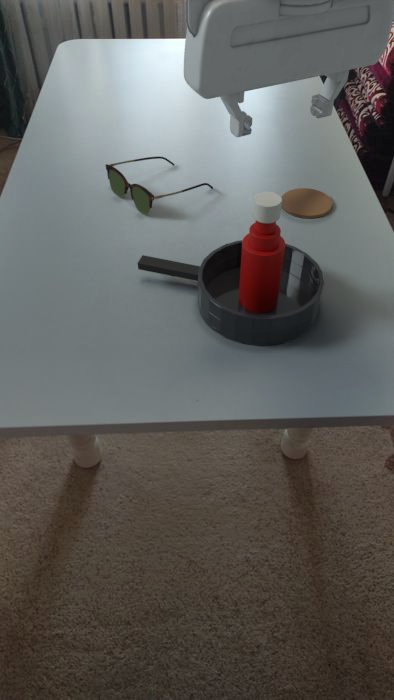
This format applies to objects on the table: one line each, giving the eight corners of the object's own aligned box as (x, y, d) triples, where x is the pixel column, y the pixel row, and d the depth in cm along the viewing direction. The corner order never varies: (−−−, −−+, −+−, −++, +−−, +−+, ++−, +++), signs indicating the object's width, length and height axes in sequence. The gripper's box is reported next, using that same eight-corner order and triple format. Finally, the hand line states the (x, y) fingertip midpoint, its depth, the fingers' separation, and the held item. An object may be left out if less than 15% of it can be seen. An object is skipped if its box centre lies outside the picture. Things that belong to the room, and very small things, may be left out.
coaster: (335, 195, 99) (335, 192, 98) (327, 222, 93) (328, 219, 93) (285, 187, 101) (286, 184, 100) (275, 213, 95) (275, 210, 95)
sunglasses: (106, 188, 101) (104, 162, 98) (169, 168, 108) (170, 143, 105) (153, 221, 93) (153, 194, 90) (217, 197, 101) (220, 172, 97)
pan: (326, 277, 83) (332, 250, 79) (306, 357, 72) (312, 330, 68) (217, 257, 87) (218, 230, 83) (182, 330, 75) (181, 302, 72)
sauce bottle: (281, 291, 80) (295, 190, 68) (273, 316, 76) (286, 214, 64) (244, 284, 81) (251, 184, 69) (234, 308, 78) (239, 207, 66)
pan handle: (203, 273, 80) (203, 266, 79) (198, 281, 78) (198, 275, 78) (143, 261, 82) (142, 254, 81) (138, 269, 80) (137, 262, 80)
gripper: (203, -17, 40) (202, 160, 50) (420, -47, 46) (381, 117, 56) (168, -36, 44) (174, 132, 54) (373, -61, 50) (344, 94, 60)
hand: (281, 124), depth 55 cm, fingers open, 8 cm apart
